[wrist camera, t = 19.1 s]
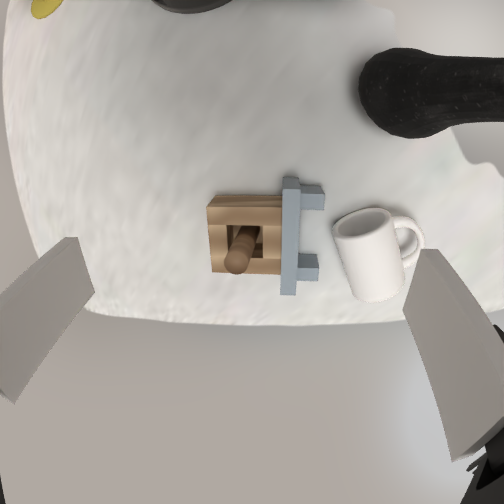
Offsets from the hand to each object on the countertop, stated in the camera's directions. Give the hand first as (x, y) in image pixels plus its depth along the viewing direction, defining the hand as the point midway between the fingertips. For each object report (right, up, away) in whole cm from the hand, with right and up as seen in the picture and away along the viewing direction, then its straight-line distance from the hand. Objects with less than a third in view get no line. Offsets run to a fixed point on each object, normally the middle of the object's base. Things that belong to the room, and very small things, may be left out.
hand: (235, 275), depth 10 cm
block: (0, +4, +30) cm, 31 cm away
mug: (+18, +3, +29) cm, 35 cm away
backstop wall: (+7, +4, +30) cm, 31 cm away
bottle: (+18, +21, +20) cm, 34 cm away
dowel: (0, +4, +30) cm, 30 cm away
